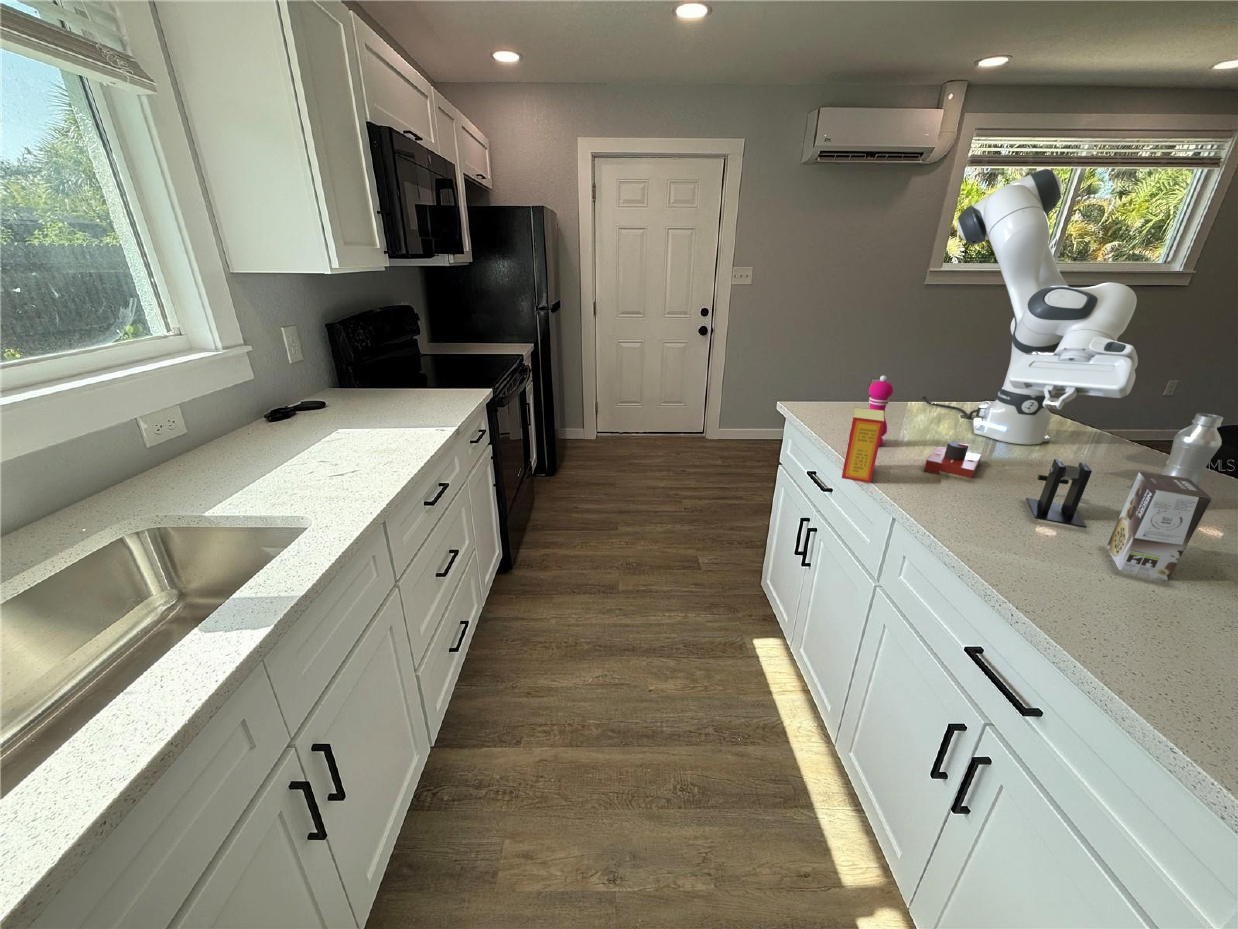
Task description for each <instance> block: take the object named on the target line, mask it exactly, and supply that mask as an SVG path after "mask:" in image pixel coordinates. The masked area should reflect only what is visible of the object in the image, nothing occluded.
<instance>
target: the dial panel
mask: <svg viewBox="0 0 1238 929" xmlns="http://www.w3.org/2000/svg"><path fill="white" fill-rule="evenodd" d="M946 448H947V447H945V446H940V445H939V446H938V445H937V446H936V447H935V448H934V449H933V451H932V452H931V453H930V455H929V456H928V458H927V459H926V462H925V465H924V470H923V471H924V472H927V473H932V474H935V475H936V474H937V475H941V474H940V472H942V473H946V474H952V475H955V476H956V475H957V476H960V477H964V478H970V479H972V478H973V476H974V474H975V472H976V470H977V467H978V466H979V464H980V462H981V458H982V454H979V453H974V452H969V451H967V453H966V457H965V459H964V460H952V459H949V458H947V457H945V456H944V455H945V451H946Z"/></svg>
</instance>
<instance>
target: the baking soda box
mask: <svg viewBox="0 0 1238 929" xmlns="http://www.w3.org/2000/svg"><path fill="white" fill-rule="evenodd" d="M852 414H853V415H852V419H851V424H850V430H849V435H848V442H847V446H846V450H845V457H844V461H843V467H842V474H841V479H844V480H850V481H856V482H863V483H867V484H872V480H873V474H874V471H875V470H874V469H875V466H876V460H877V456H878V452H879V448H880V446H879V443H880V438H881V434H882V429H883V424H884V410H875V409H869V408H865V407H854V409H853V413H852Z"/></svg>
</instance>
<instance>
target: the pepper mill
mask: <svg viewBox="0 0 1238 929" xmlns="http://www.w3.org/2000/svg"><path fill="white" fill-rule="evenodd" d="M887 380H888V377H887V376H886V375H884V374H883V375H881V376H880V378H879V380H876V381H874V382H873V383H872V384H870V386H869V388H868V393H869V395H870V396H869V398H868V399H869V400H868V403H869V408H868V409H875V410H884V424H883V429H882V434H881V438H880V443H879V447H881V446H883V442H884V438H883V437H884V436H885V435H886V434H887V433H888V423H887V419H886V416H885V415H886V414H885V413H886V407H887V406H888V405H889V401H890V399H889V398H890V397H892V395H894V394H893V393H894V386H893V384H892V383H890V382H889V381H887Z"/></svg>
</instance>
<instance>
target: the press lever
mask: <svg viewBox="0 0 1238 929" xmlns="http://www.w3.org/2000/svg"><path fill="white" fill-rule="evenodd" d="M1064 465H1065V464H1064ZM1065 467H1066V468H1065V470H1064V473H1063V476H1062V478H1061V481H1060V483H1059V484H1061V485H1068V484H1069V481H1071V482H1072V481H1073V480H1076V479H1078V478H1079V472H1080V467H1078V465H1077V466H1076V465H1069V464H1066V465H1065ZM1036 478H1037V481H1041V482H1042V481H1043V482H1046V480H1047V478H1048V475H1044V474H1038V475H1037V477H1036Z"/></svg>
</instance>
